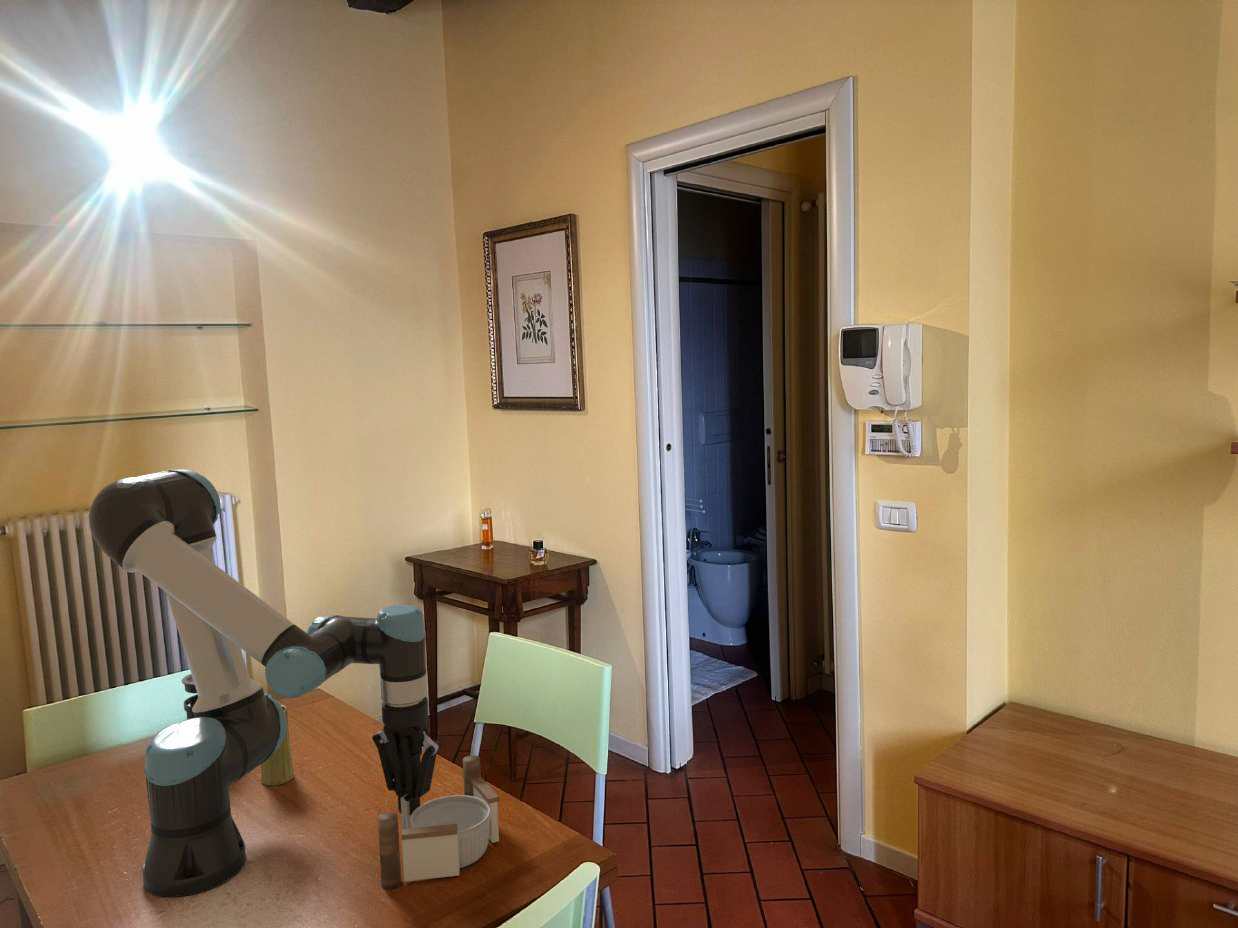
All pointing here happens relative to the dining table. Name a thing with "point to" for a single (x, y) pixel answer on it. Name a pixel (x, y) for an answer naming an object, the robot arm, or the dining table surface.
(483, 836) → the ramekin
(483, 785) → the right leaf
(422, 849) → the left leaf
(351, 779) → the dining table surface
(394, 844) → the gate posts
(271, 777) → the vase
